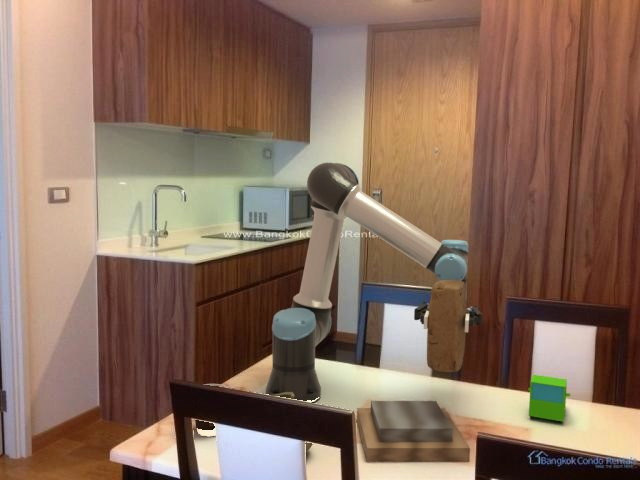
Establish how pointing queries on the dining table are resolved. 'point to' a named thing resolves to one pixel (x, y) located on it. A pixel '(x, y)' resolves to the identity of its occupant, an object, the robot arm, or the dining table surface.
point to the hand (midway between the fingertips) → (446, 324)
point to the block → (446, 326)
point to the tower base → (409, 447)
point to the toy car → (547, 397)
